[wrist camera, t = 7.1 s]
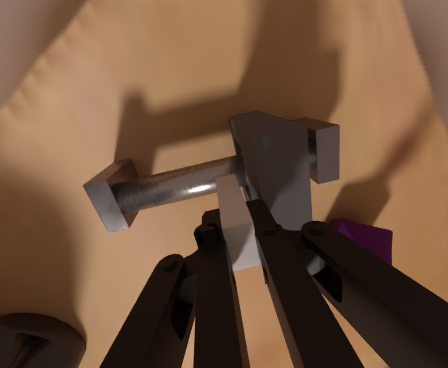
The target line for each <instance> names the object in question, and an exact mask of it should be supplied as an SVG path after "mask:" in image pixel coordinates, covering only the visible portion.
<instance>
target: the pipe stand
mask: <svg viewBox="0 0 448 368" xmlns="http://www.w3.org/2000/svg"><path fill="white" fill-rule="evenodd" d="M291 121H293V122H296V123H300V124H303V125H306V126H307V132H308V150H309V169H310V178H311V179H312V180H313V181H315V182H316V183H317V184H321V183H325V182H329V181H334V180H338V179H339V131H340V125H338V124H333V123H329V122H324V121H320V120H315V119H311V118H306V117H304V118H300V119H296V120H291ZM231 174H235V176H236V178H237V181H238V184H239V186H240V187H242V186H246V185H248V186H249V183H248V178H247V172H246V167H245V161H244V156H243V151H241V154H239V155H235V156H230V157H226V158H222V159H218V160H213V161H209V162H205V163H201V164H196V165H192V166H188V167H184V168H179V169H175V170H171V171H167V172H162V173H158V174H154V175H150V176H145V177H141V178H139V177H138V175H137V172H136V170H135V168H134V165H133V163H132V160H131V159H126V160H122V161H118V162H114V163H112V164H111V165H109V166H108V167H107V168H105V169H104V170H103V171H101V172H100V173H99V174H97V175H96V176H95V177H93V178H92V179H91V180H89V181H88V182H87V183H85V184H84V185H83V187H84V189H85V191H86V193H87V195H88V196H89V198H90V200H91V202H92V204H93V206H94V208H95V209H96V211H97V213H98V215H99V217H100V219H101V221H102V222H103V224H104V226H105V228H106V230H107V232H108V233H112V232H116V231H120V230H125V229H129V228H130V226H131V224H132V223H133V221H134V219H135V217H136V215H137V214H138V212H139V211H140V210H144V209H148V208H152V207H157V206H161V205H165V204H169V203H174V202H178V201H182V200H186V199H191V198H195V197H199V196H203V195H208V194H212V193H216V192H217V187H216V179H215V178H218V177H222V176H226V175H231Z"/></svg>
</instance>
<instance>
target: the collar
mask: <svg viewBox="0 0 448 368" xmlns="http://www.w3.org/2000/svg"><path fill="white" fill-rule="evenodd" d="M229 122H230V127H231V132H232V137H233V142H234V147H235V152H236V155H239V154H241V151H243V156H244V161H245V167H246V172H247V178H248V183H249V186H248V185H246V186H242V187H243V192H244V195H245V198H246V200H247V201H250V200H255V199H261V200H263V201H264V202H265V203H266V205H267V207H268V209H269V211H270V212H271V214H272V216H273V218H274V219H275V221H276V223H278V224H280V225H281V226H282V227H283V229H286V230H301V227H302V226H303V224H305V223H307V222H310V221H312V205H311V187H310V169H309V150H308V132H307V126H306V125H303V124H300V123H296V122H293V121H290V120H286V119H283V118H280V117H276V116H273V115H270V114H266V113H263V112H260V111H253V112H249V113H245V114H241V115H236V116H232V117H229Z"/></svg>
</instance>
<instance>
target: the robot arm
mask: <svg viewBox="0 0 448 368" xmlns="http://www.w3.org/2000/svg"><path fill="white" fill-rule="evenodd" d="M215 179H216V187H217V195H218V202H219V209H214V210H210V211H206V212H205V213H204V214H203V216H202V224H201V225H200V226H198V227H197V228H196V229H195V231H194V236H195V239H196V242H197V245H198V250H197V251H196V252H194V253H193V254H191V255H189V256H187V257H185V258H183V257H182V256H181V255H180V254H172V255H168V256H166V257H164V258H163V259H162V260H160V261H159V263H158V264H157V265H156V267H155V269H154V270H153V272H152V274H151V276H150V278H149V279H148V281H147V283H146V285H145V287H144V288H143V290H142V292H141V294H140V296H139V297H138V299H137V301H136V303H135V304H134V306H133V308H132V310H131V312H130V313H129V315H128V317H127V319H126V321H125V322H124V324H123V326H122V328H121V330H120V331H119V333H118V335H117V337H116V339H115V340H114V342H113V344H112V346H111V348H110V349H109V351H108V353H107V355H106V356H105V358H104V360H103V362H102V364H101V365H100V367H99V368H181V366H182V363H183V359H184V355H185V352H186V348H187V344H188V341H189V337H190V333H191V329H192V326H193V322H194V318H195V340H194V365H193V368H250V364H249V358H248V352H247V346H246V340H245V334H244V328H243V322H242V316H241V310H240V305H239V299H238V293H237V287H236V281H235V277H234V273H233V271H238V270H242V269H246V268H251V267H255V266H259V265H261V264H262V268H263V274H264V279H265V284H267V286H268V289H269V292H270V295H271V298H272V301H273V304H274V307H275V310H276V313H277V317H278V320H279V323H280V326H281V329H282V332H283V335H284V338H285V341H286V344H287V347H288V350H289V353H290V356H291V360H292V363H293V366H294V368H364V366H363V364H362V363H361V361H360V359H359V357H358V356H357V354H356V352H355V351H354V349H353V347H352V345H351V344H350V342H349V340H348V339H347V337H346V335H345V333H344V332H343V330H342V328H341V327H340V325H339V323H338V321H337V320H336V318H335V316H334V314H333V313H332V311H331V309H330V308H329V306H328V304H327V302H326V301H325V299H324V297H323V296H322V294H323V295H324V296H325V297H326V298H327V300H328V301H329V302H330V303H331V304H332V305H333V306H334V307H335V308H336V309H337V310H338V312H339V313H340V314H341V315H342V316H343V317H344V318H345V319H346V320H347V321H348V322H349V323H350V325H351V326H352V327H353V328H354V329H355V330H356V331H357V332H358V333H359V334H360V335H361V337H362V338H363V339H364V340H365V341H366V342H367V343H368V344H369V345H370V346H371V347H372V348H373V350H374V351H375V352H376V353H377V354H378V355H379V356H380V357H381V358H382V359H383V360H384V362H385V363H386V364H387V365H388V366H389V367H390V368H448V302H446V301H445V300H443V299H442V298H440V297H439V296H437V295H436V294H434V293H433V292H431V291H429V290H428V289H426V288H425V287H423V286H422V285H420V284H419V283H417V282H416V281H414V280H413V279H411V278H410V277H408V276H407V275H405V274H404V273H402V272H401V271H399V270H398V269H396V268H394V267H393V266H391V265H390V264H388V263H387V262H385V261H384V260H382V259H381V258H379V257H378V256H376V255H375V254H373V253H372V252H370V251H369V250H367V249H366V248H364V247H363V246H361V245H359V244H358V243H356V242H355V241H353V240H352V239H350V238H349V237H347V236H346V235H344V234H343V233H341V232H340V231H338V230H337V229H335V228H334V227H332V226H331V225H329V224H327V223H325V222H321V221H310V222H307V223H305V224H303V226H302V227H301V230H286V229H283V227H282V226H281V225H280V224H278V223H276V221H275V219H274V218H273V216H272V214H271V212H270V211H269V209H268V207H267V205H266V203H265V202H264V201H263V200H261V199H255V200H250V201H246V202H245V200H244V197H243V194H242V192H241V189H240V186H239V184H238V181H237V178H236V176H235V174H231V175H226V176H222V177H218V178H215ZM321 293H322V294H321ZM84 354H85V344H84V341H83V339H82V338H81V336H80V335H79V334H78V333H77V332H76V331H75V330H74V329H72V328H71V327H70V326H68V325H66V324H64V323H62V322H60V321H58V320H55V319H52V318H49V317H45V316H40V315H33V314H13V315H7V316H2V317H0V368H78V367H79V365H80V363H81V360H82V358H83V356H84Z"/></svg>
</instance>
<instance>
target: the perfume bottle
mask: <svg viewBox="0 0 448 368" xmlns="http://www.w3.org/2000/svg"><path fill="white" fill-rule="evenodd" d="M331 226H332V227H334V228H335V229H337V230H338V231H340V232H341V233H343V234H344V235H346V236H347V237H349V238H350V239H352V240H353V241H355V242H356V243H358V244H359V245H361V246H363V247H364V248H366V249H367V250H369V251H370V252H372V253H373V254H375V255H376V256H378V257H379V258H381V259H382V260H384V261H385V262H387V263H388V264H390V265H391V266H392V235H393V232H392V231H391V230H387V229H383V228H378V227H374V226H369V225H365V224H360V223H356V222H351V221H347V220H333V222H332V223H331Z"/></svg>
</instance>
